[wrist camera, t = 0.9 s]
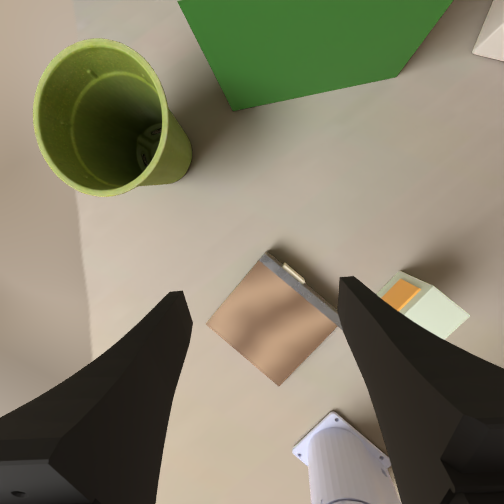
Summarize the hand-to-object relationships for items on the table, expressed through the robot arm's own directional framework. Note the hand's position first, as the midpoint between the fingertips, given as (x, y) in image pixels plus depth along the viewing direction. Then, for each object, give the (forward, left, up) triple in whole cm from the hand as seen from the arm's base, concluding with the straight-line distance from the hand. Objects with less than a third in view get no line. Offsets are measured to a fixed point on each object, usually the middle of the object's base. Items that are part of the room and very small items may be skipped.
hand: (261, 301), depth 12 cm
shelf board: (-5, +7, -19) cm, 21 cm away
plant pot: (+18, 0, -19) cm, 27 cm away
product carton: (-14, -4, -19) cm, 24 cm away
